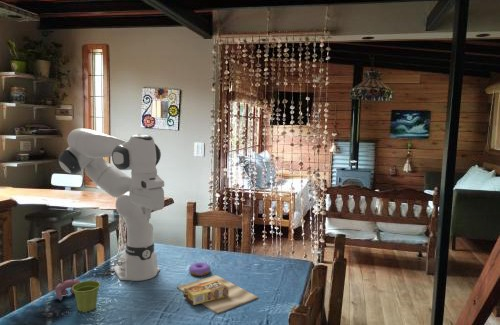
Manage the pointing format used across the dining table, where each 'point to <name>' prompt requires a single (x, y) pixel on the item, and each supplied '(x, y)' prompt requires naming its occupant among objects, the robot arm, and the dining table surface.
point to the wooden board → (226, 303)
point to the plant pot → (86, 295)
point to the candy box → (206, 292)
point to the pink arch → (65, 287)
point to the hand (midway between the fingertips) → (146, 218)
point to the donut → (199, 269)
